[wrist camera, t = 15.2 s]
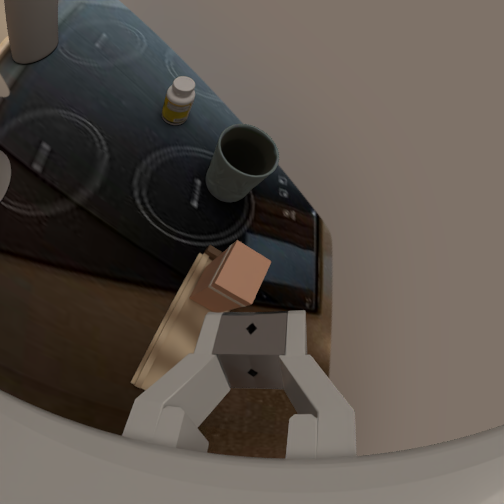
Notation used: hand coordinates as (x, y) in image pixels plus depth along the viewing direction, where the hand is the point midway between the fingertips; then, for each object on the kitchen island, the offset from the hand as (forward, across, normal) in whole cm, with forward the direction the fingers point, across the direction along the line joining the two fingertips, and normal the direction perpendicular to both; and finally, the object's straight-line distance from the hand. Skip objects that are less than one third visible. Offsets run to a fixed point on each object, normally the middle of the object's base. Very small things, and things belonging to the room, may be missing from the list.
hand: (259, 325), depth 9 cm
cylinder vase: (+54, +56, -28) cm, 82 cm away
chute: (+24, +18, +28) cm, 41 cm away
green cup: (+47, +13, +14) cm, 51 cm away
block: (+30, +14, +25) cm, 41 cm away
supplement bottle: (+54, +23, 0) cm, 58 cm away
